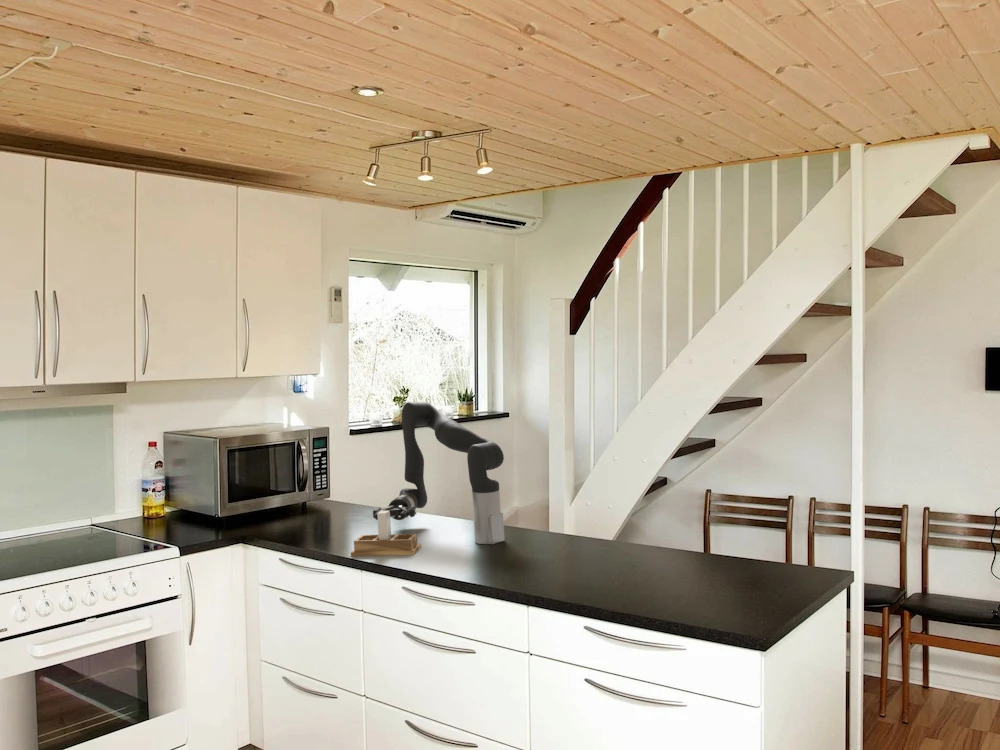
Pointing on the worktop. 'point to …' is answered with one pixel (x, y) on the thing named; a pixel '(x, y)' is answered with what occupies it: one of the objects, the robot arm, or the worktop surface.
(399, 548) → the wooden compartment tray
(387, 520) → the pale wooden block
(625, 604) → the worktop surface
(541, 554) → the worktop surface
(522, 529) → the worktop surface
